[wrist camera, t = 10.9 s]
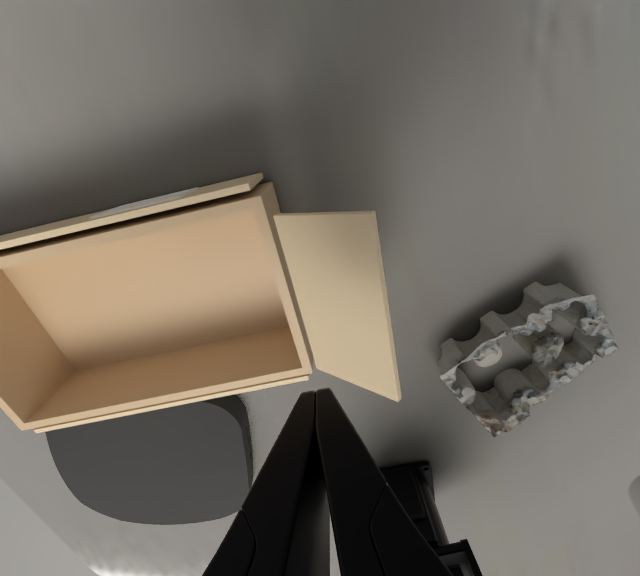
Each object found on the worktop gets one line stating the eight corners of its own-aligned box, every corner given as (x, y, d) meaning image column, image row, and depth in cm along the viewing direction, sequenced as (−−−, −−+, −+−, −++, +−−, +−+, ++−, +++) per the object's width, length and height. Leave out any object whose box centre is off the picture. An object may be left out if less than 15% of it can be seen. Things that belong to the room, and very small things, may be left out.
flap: (273, 215, 13) (370, 213, 10) (278, 213, 13) (375, 210, 10) (316, 368, 17) (398, 402, 14) (320, 365, 17) (401, 397, 14)
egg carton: (464, 401, 27) (489, 444, 23) (419, 345, 24) (439, 384, 20) (590, 334, 24) (641, 371, 20) (556, 262, 21) (608, 290, 17)
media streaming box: (104, 495, 30) (84, 530, 28) (52, 377, 24) (20, 408, 21) (257, 492, 31) (252, 526, 28) (246, 376, 25) (238, 406, 22)
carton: (313, 332, 22) (315, 380, 18) (81, 380, 24) (27, 437, 19) (268, 168, 18) (255, 179, 13) (-22, 238, 19) (-126, 270, 14)
